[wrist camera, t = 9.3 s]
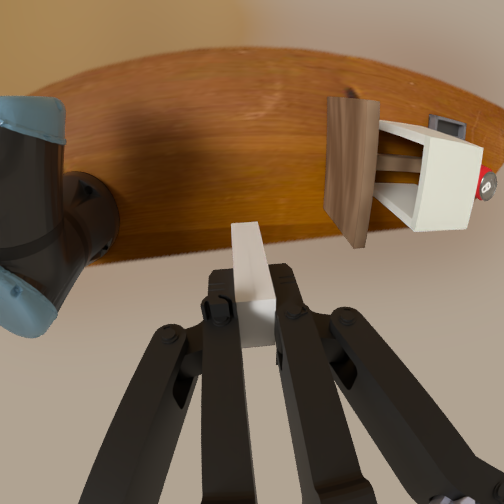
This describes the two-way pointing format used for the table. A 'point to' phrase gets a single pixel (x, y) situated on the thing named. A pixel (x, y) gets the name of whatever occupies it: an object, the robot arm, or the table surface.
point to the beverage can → (486, 184)
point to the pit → (447, 126)
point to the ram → (356, 164)
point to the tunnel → (434, 181)
